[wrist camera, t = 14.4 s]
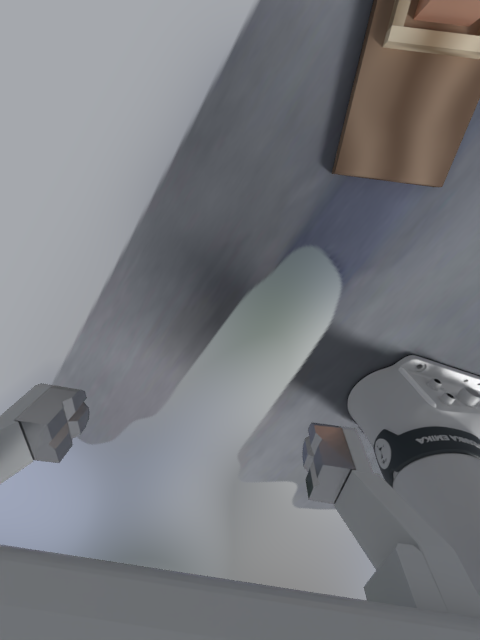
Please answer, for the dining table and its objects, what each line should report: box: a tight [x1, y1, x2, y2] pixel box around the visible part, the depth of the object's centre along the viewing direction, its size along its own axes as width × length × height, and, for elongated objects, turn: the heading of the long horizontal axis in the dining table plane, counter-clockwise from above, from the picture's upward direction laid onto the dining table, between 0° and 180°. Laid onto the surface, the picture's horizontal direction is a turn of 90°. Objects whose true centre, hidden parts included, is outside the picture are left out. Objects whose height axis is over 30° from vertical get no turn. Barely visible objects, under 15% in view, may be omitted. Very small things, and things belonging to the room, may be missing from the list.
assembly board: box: [332, 0, 480, 187], centre depth 25 cm, size 12×20×3 cm, turn 173°
